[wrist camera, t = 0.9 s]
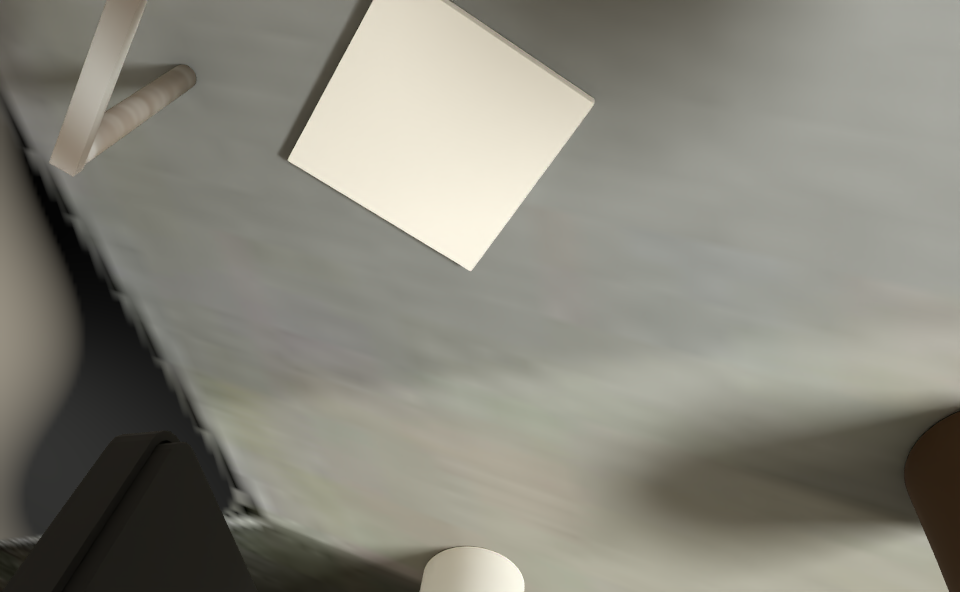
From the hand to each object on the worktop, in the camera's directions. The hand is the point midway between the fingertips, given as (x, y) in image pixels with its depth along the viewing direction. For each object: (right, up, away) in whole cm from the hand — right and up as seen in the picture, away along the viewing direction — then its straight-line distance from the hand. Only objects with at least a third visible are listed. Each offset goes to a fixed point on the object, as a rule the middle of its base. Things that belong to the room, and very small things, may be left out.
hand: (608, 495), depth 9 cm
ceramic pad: (-4, +11, +32) cm, 33 cm away
